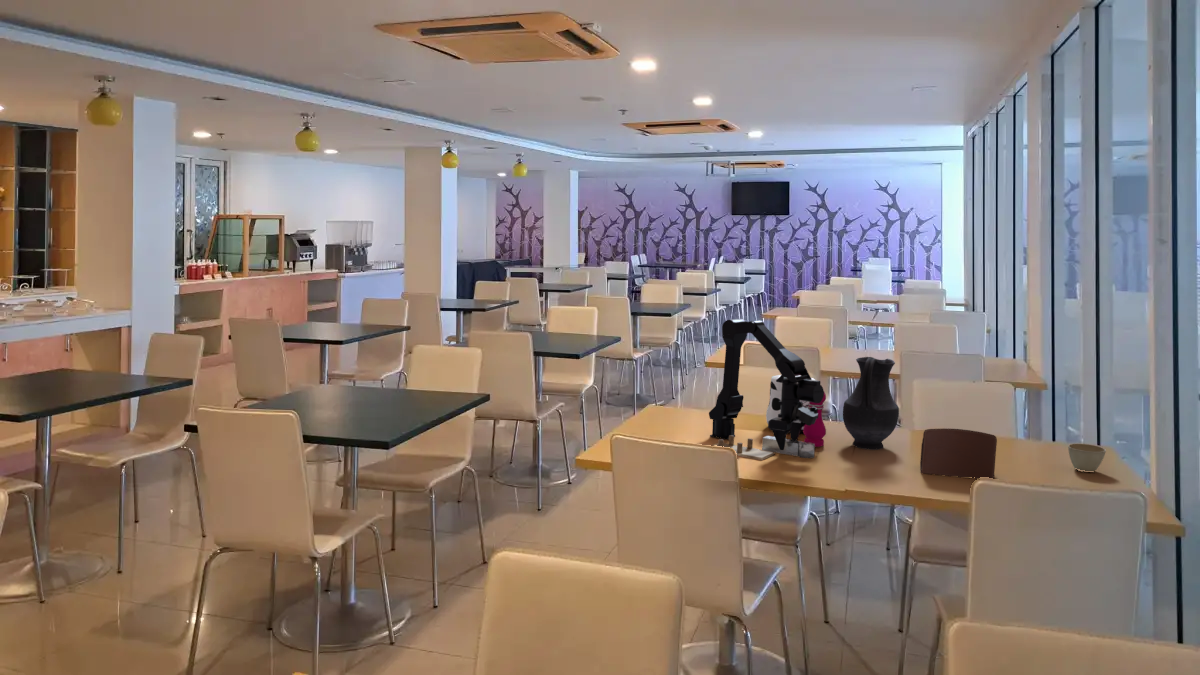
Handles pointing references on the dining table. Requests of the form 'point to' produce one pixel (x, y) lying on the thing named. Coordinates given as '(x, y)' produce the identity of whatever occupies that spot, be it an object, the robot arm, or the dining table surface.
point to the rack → (746, 449)
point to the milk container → (777, 399)
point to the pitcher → (871, 405)
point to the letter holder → (958, 453)
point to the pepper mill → (816, 426)
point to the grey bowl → (1086, 456)
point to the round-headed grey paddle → (789, 447)
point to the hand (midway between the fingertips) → (788, 447)
